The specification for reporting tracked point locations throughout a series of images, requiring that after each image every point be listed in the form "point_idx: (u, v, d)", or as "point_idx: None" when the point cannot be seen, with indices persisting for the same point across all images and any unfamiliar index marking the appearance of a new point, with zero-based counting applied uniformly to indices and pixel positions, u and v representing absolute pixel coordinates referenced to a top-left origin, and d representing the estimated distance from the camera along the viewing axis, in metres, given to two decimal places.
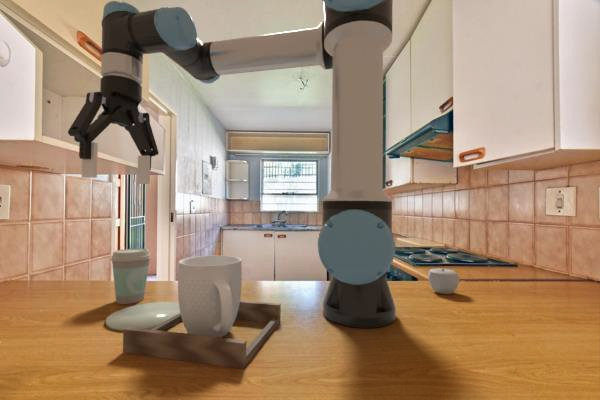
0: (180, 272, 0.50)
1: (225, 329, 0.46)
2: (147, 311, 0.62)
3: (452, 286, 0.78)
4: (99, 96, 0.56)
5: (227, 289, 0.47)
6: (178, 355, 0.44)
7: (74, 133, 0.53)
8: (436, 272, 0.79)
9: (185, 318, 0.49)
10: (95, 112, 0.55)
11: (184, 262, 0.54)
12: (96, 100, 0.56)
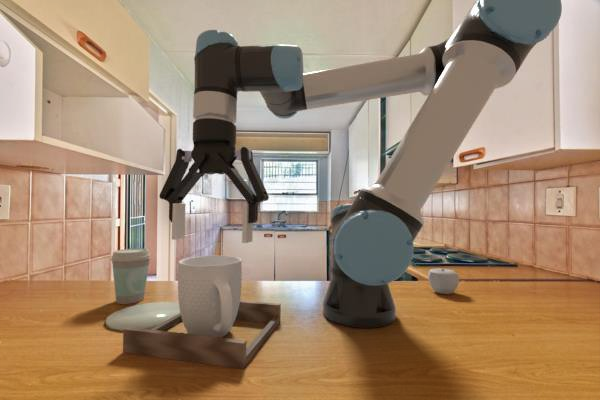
0: (180, 272, 0.50)
1: (225, 329, 0.46)
2: (147, 311, 0.62)
3: (452, 286, 0.78)
4: (179, 153, 0.53)
5: (227, 289, 0.47)
6: (178, 355, 0.44)
7: None
8: (436, 272, 0.79)
9: (185, 318, 0.49)
10: (174, 172, 0.53)
11: (184, 262, 0.54)
12: (176, 159, 0.54)
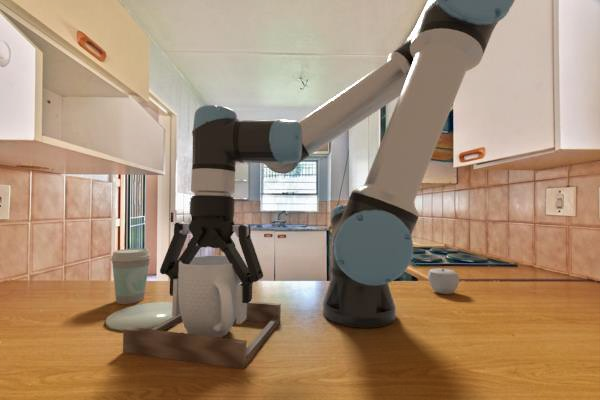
0: (180, 272, 0.50)
1: (225, 329, 0.46)
2: (147, 311, 0.62)
3: (452, 286, 0.78)
4: (176, 227, 0.53)
5: (227, 289, 0.47)
6: (178, 355, 0.44)
7: None
8: (436, 272, 0.79)
9: (185, 318, 0.49)
10: (173, 246, 0.53)
11: None
12: (174, 233, 0.53)
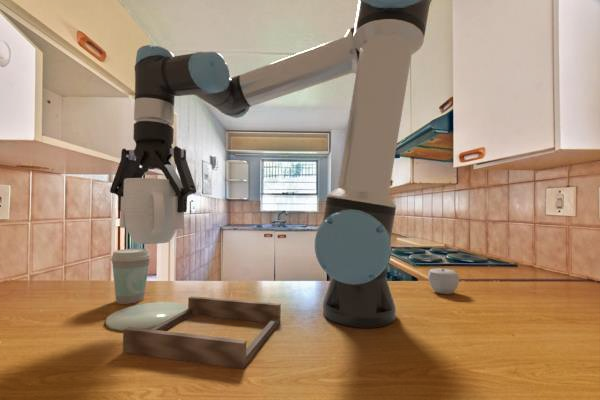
0: (124, 186, 0.59)
1: (158, 228, 0.55)
2: (147, 311, 0.62)
3: (452, 286, 0.78)
4: (123, 152, 0.62)
5: (160, 195, 0.56)
6: (178, 355, 0.44)
7: None
8: (436, 272, 0.79)
9: (128, 224, 0.58)
10: (121, 168, 0.62)
11: None
12: (121, 157, 0.62)
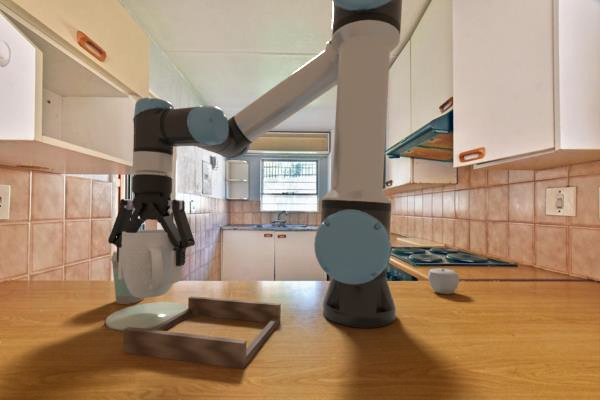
0: (122, 240, 0.59)
1: (156, 285, 0.55)
2: (147, 311, 0.62)
3: (452, 286, 0.78)
4: (121, 203, 0.62)
5: (158, 252, 0.55)
6: (178, 355, 0.44)
7: None
8: (436, 272, 0.79)
9: (126, 278, 0.58)
10: (119, 219, 0.62)
11: None
12: (120, 208, 0.62)
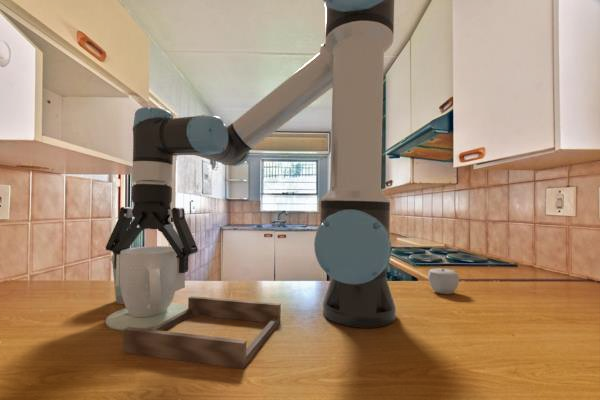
0: (120, 259, 0.58)
1: (154, 306, 0.55)
2: None
3: (452, 286, 0.78)
4: (121, 211, 0.62)
5: (156, 273, 0.55)
6: (178, 355, 0.44)
7: None
8: (436, 272, 0.79)
9: (124, 298, 0.58)
10: (118, 227, 0.62)
11: (128, 251, 0.62)
12: (119, 216, 0.62)
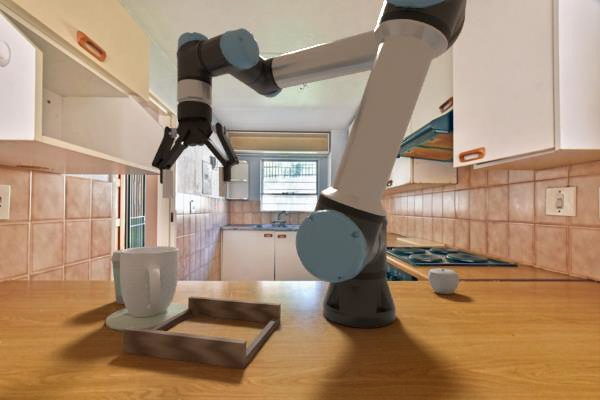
0: (120, 259, 0.58)
1: (154, 306, 0.55)
2: None
3: (452, 286, 0.78)
4: (166, 130, 0.67)
5: (156, 273, 0.55)
6: (178, 355, 0.44)
7: None
8: (436, 272, 0.79)
9: (124, 298, 0.58)
10: (163, 144, 0.67)
11: (128, 251, 0.62)
12: (164, 134, 0.67)
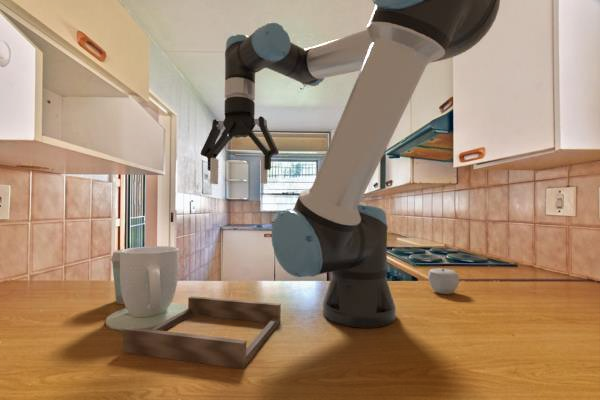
0: (120, 259, 0.58)
1: (154, 306, 0.55)
2: None
3: (452, 286, 0.78)
4: (214, 122, 0.75)
5: (156, 273, 0.55)
6: (178, 355, 0.44)
7: None
8: (436, 272, 0.79)
9: (124, 298, 0.58)
10: (211, 135, 0.75)
11: (128, 251, 0.62)
12: (212, 126, 0.76)
